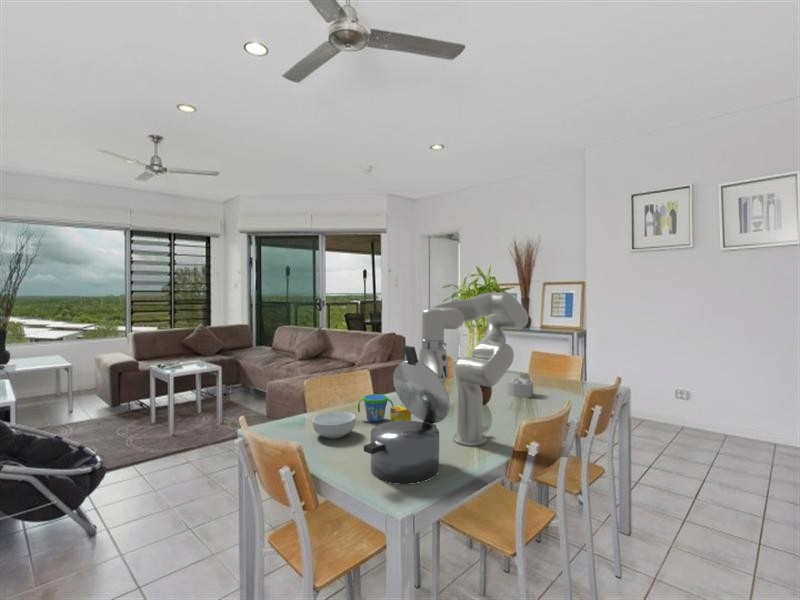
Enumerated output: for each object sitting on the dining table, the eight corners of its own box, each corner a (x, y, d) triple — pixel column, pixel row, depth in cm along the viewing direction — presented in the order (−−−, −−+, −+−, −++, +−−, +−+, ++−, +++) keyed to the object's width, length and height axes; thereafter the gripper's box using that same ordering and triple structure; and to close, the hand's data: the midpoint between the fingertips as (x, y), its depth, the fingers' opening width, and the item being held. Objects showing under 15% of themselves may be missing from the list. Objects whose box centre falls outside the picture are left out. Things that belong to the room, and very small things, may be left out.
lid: (402, 416, 151) (407, 412, 152) (454, 431, 135) (459, 426, 136) (382, 344, 143) (388, 341, 144) (435, 352, 127) (440, 348, 129)
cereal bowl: (336, 425, 177) (336, 408, 177) (364, 433, 167) (364, 416, 166) (303, 436, 164) (303, 418, 164) (332, 446, 154) (332, 427, 153)
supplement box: (390, 434, 166) (389, 407, 165) (401, 431, 169) (401, 404, 169) (399, 438, 161) (399, 410, 161) (411, 435, 165) (411, 407, 165)
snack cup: (395, 417, 188) (395, 394, 188) (390, 424, 178) (390, 400, 177) (361, 415, 191) (361, 393, 190) (355, 422, 180) (355, 399, 180)
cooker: (407, 448, 152) (407, 415, 151) (456, 465, 137) (456, 429, 136) (344, 473, 131) (344, 435, 131) (394, 498, 116) (394, 455, 115)
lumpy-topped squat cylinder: (529, 398, 219) (529, 382, 219) (504, 395, 225) (505, 379, 225) (534, 394, 228) (534, 378, 228) (510, 391, 234) (510, 375, 234)
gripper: (457, 345, 141) (456, 399, 142) (423, 341, 152) (423, 392, 152) (443, 348, 136) (443, 404, 137) (409, 343, 146) (409, 396, 147)
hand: (432, 397), depth 144 cm, fingers closed
